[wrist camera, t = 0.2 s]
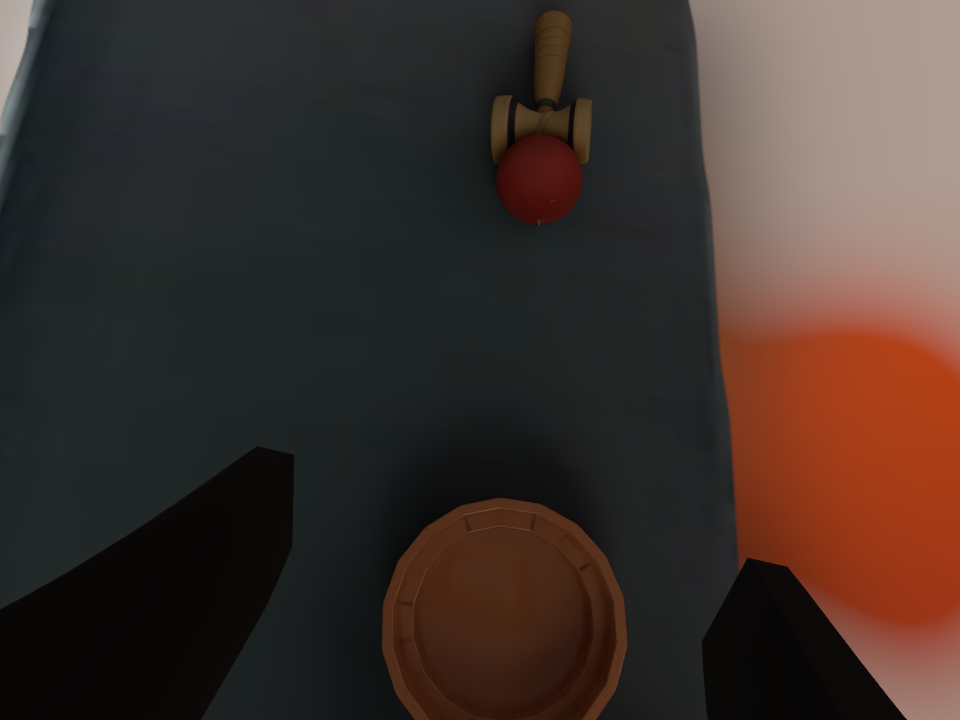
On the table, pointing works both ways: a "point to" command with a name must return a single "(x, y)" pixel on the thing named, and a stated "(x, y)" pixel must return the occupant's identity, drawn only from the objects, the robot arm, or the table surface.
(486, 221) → the table surface
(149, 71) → the table surface
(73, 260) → the table surface
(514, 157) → the kendama
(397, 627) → the bowl
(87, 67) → the table surface
